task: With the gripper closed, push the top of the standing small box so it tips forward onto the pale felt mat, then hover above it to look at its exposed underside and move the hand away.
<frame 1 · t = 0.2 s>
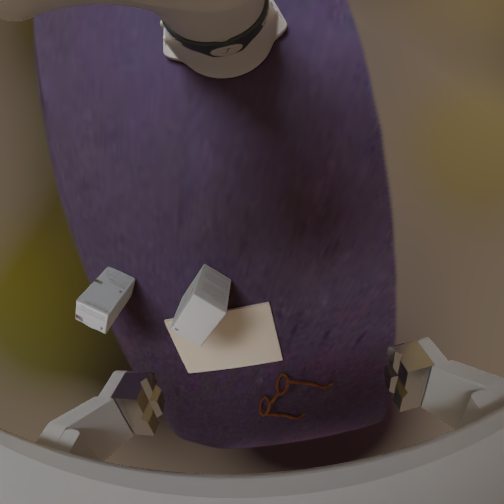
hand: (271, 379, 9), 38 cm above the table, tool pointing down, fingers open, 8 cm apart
skincare box: (119, 280, 52), on the table
glasses: (295, 392, 63), on the table
felt mat: (224, 340, 56), on the table
small box: (206, 287, 52), on the table
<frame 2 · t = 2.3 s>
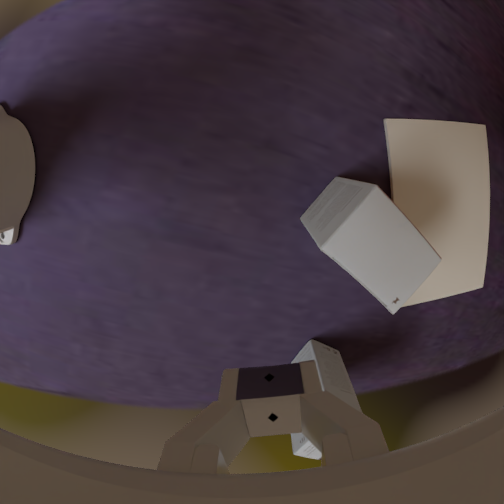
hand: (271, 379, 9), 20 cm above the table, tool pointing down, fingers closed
skincare box: (310, 362, 33), on the table
felt mat: (445, 212, 28), on the table
small box: (345, 222, 29), on the table
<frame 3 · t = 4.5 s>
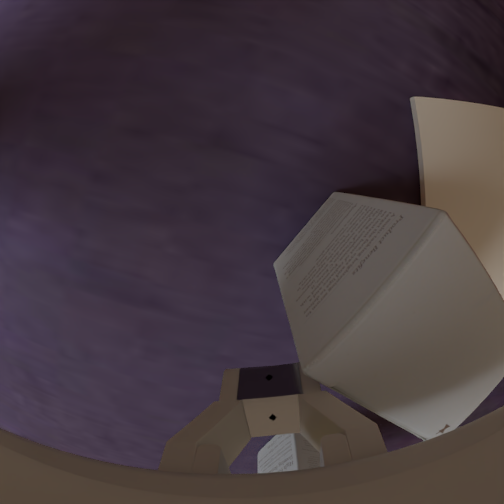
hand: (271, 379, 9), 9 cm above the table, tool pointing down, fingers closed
skincare box: (294, 441, 22), on the table
felt mat: (493, 243, 17), on the table
small box: (349, 267, 18), on the table, touching gripper
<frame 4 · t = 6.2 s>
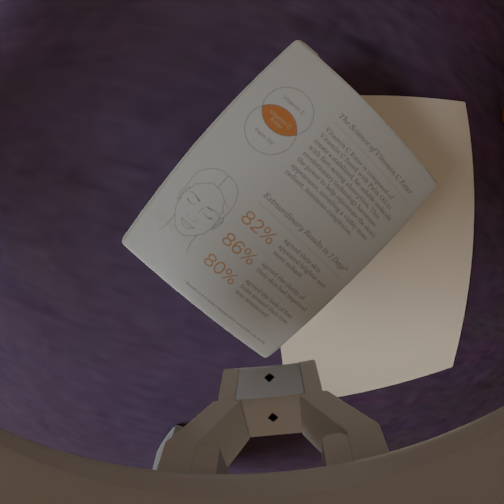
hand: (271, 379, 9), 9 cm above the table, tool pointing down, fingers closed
felt mat: (383, 262, 17), on the table
small box: (200, 283, 14), point 3 cm above the table, touching felt mat
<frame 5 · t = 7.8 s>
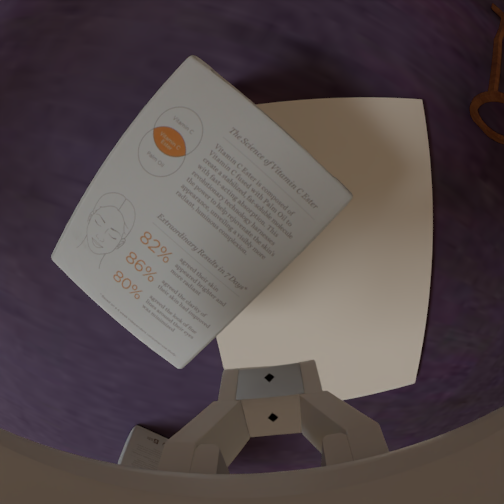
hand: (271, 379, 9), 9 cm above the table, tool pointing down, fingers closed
skincare box: (150, 445, 23), on the table
felt mat: (325, 275, 17), on the table
small box: (129, 295, 15), point 3 cm above the table, touching felt mat
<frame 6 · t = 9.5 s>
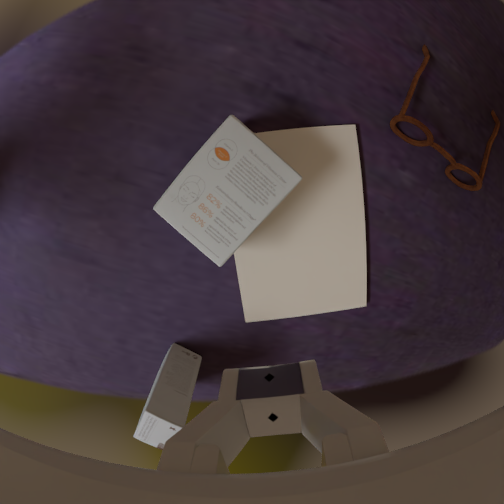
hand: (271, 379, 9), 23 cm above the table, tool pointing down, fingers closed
skincare box: (180, 364, 37), on the table
glasses: (444, 116, 27), on the table
felt mat: (299, 226, 31), on the table
small box: (190, 233, 28), point 3 cm above the table, touching felt mat
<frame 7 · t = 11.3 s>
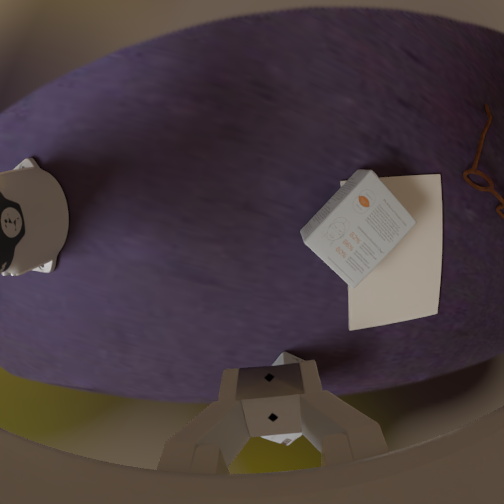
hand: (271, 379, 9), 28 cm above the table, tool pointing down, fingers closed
skincare box: (285, 369, 42), on the table
glasses: (497, 163, 32), on the table
felt mat: (396, 253, 36), on the table
small box: (323, 260, 34), point 3 cm above the table, touching felt mat
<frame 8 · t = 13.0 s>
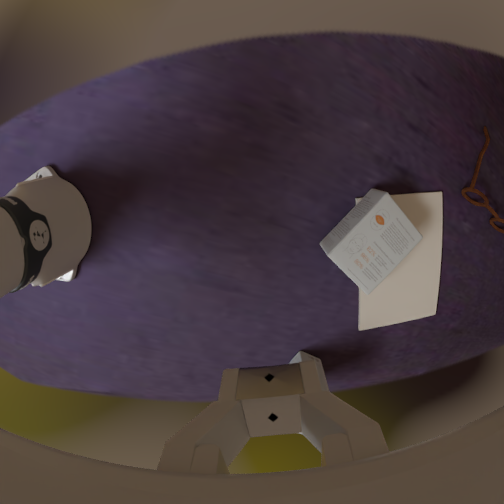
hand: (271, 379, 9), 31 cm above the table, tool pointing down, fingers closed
skincare box: (300, 367, 46), on the table
glasses: (491, 180, 37), on the table
felt mat: (401, 262, 40), on the table
small box: (341, 270, 38), point 3 cm above the table, touching felt mat
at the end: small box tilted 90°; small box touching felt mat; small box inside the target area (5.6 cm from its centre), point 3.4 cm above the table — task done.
